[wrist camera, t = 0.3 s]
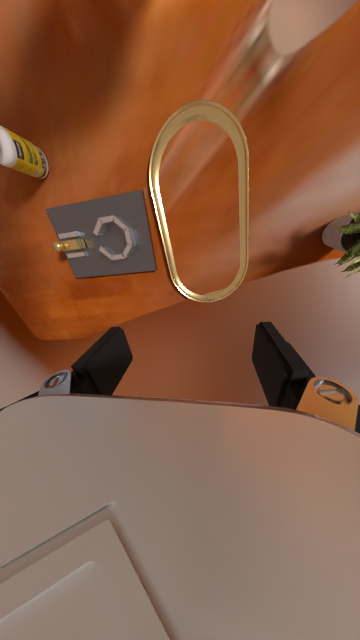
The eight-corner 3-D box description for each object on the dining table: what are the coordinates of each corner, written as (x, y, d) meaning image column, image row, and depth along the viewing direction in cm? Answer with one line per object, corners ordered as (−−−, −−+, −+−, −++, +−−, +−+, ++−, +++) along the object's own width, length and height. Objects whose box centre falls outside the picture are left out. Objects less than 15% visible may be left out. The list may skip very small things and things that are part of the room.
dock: (49, 209, 36) (35, 207, 33) (143, 191, 32) (136, 186, 28) (78, 277, 43) (68, 280, 40) (157, 269, 39) (153, 272, 36)
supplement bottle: (55, 173, 32) (1, 151, 24) (36, 183, 34) (-20, 165, 25) (38, 139, 30) (-28, 100, 21) (19, 150, 31) (-50, 118, 23)
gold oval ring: (178, 304, 43) (177, 306, 42) (138, 131, 28) (135, 126, 26) (247, 294, 39) (248, 297, 38) (246, 84, 24) (249, 75, 22)
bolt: (62, 242, 38) (48, 242, 34) (83, 239, 37) (70, 239, 33) (66, 250, 39) (52, 252, 35) (86, 248, 38) (74, 249, 34)
